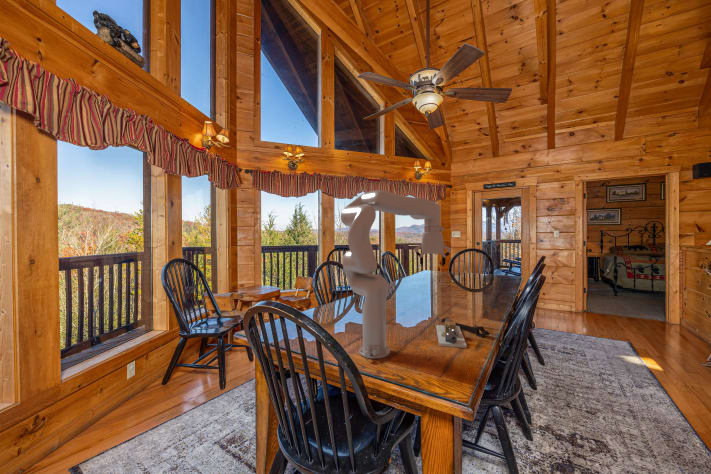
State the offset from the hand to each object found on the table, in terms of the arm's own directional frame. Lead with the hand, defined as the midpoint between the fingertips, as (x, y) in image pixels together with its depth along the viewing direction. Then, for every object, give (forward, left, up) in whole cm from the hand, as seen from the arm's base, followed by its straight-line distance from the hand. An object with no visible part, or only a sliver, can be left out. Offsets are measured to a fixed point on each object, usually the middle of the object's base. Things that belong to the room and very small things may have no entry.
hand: (432, 265), depth 138 cm
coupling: (-5, -7, -31) cm, 32 cm away
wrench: (+8, -16, -33) cm, 37 cm away
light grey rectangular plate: (-4, -7, -32) cm, 33 cm away
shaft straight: (+4, -8, -31) cm, 32 cm away
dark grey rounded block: (-13, -7, -31) cm, 35 cm away
